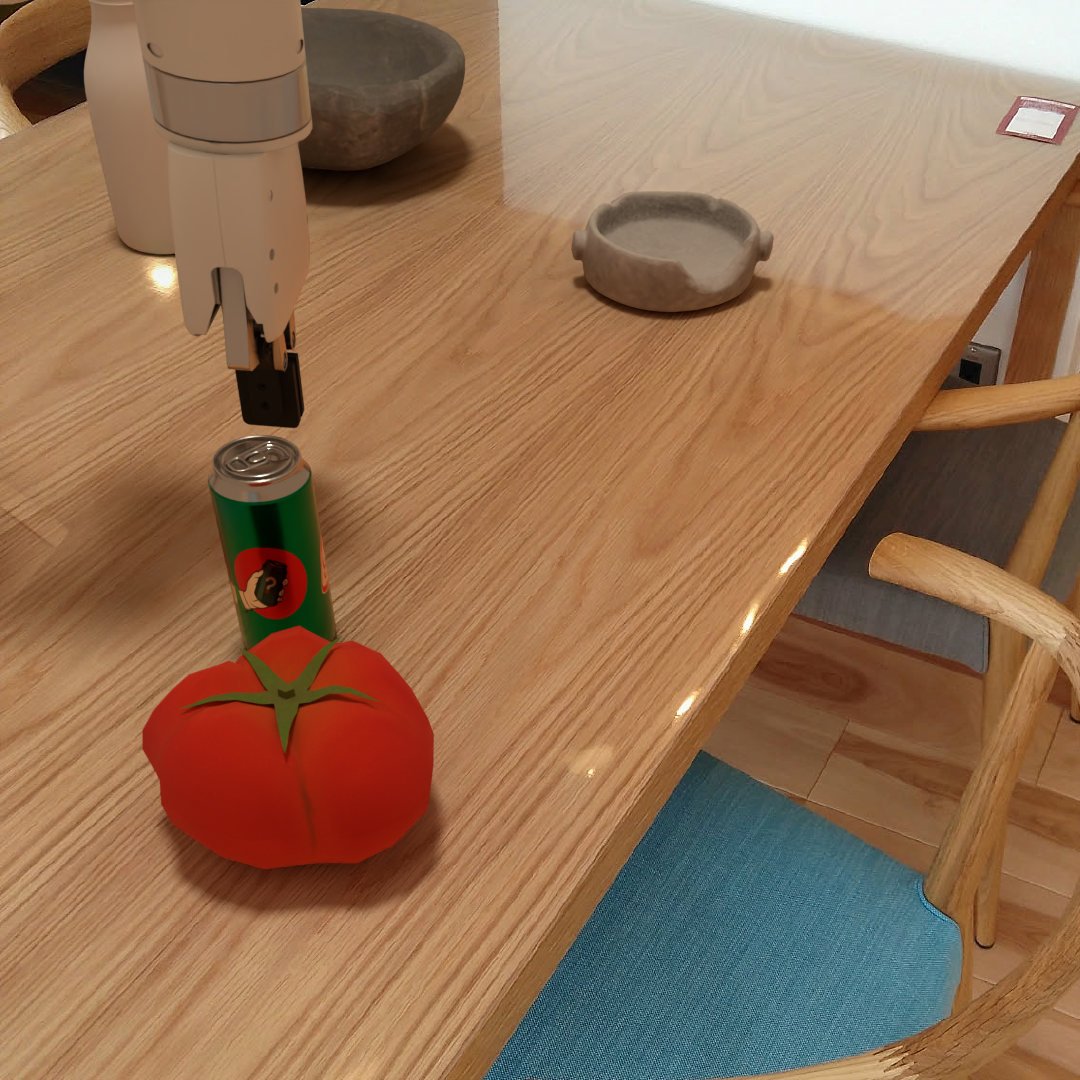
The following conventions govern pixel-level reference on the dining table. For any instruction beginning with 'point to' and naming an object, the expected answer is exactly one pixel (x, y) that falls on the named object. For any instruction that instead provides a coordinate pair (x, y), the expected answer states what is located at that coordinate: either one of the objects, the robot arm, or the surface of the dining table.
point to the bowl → (375, 85)
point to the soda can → (271, 538)
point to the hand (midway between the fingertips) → (274, 418)
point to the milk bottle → (127, 129)
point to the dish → (670, 250)
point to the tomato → (293, 753)
